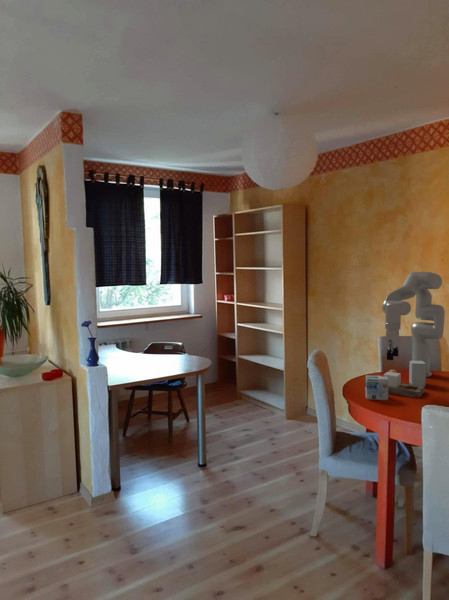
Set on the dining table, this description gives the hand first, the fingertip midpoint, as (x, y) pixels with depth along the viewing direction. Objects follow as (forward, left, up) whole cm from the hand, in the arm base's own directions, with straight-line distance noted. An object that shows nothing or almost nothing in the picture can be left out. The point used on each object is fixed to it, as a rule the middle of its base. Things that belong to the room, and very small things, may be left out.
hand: (392, 358), depth 243 cm
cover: (0, 0, -15) cm, 15 cm away
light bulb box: (+17, -3, -18) cm, 25 cm away
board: (0, +5, -18) cm, 18 cm away
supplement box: (-19, +8, -18) cm, 27 cm away
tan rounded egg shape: (-15, -4, -18) cm, 23 cm away
